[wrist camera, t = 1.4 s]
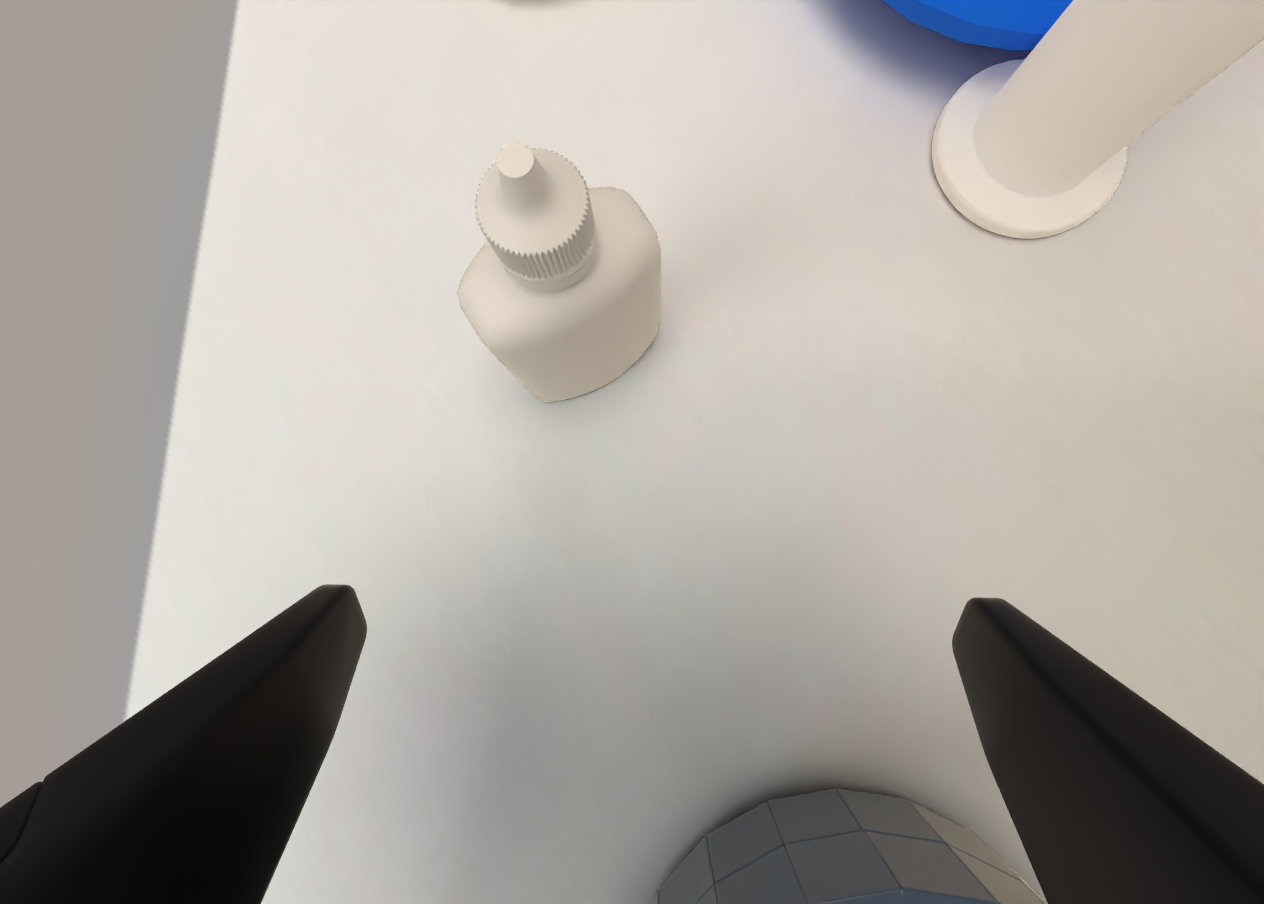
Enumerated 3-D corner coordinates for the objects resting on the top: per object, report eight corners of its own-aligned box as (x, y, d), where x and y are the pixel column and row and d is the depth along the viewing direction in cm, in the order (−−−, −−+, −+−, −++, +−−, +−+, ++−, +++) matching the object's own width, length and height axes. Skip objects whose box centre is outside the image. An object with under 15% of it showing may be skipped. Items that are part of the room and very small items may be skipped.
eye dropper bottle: (515, 297, 23) (365, 63, 11) (657, 288, 23) (659, 39, 11) (519, 405, 22) (366, 283, 11) (663, 396, 22) (674, 262, 10)
